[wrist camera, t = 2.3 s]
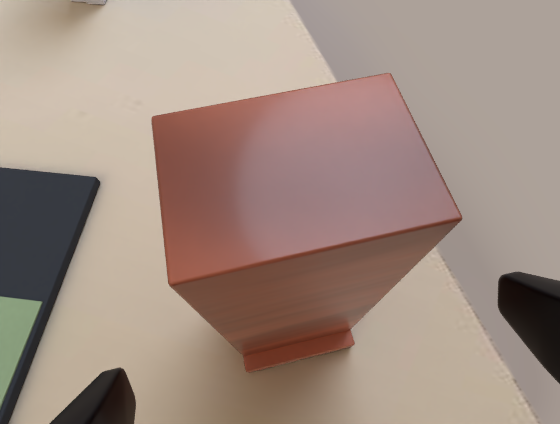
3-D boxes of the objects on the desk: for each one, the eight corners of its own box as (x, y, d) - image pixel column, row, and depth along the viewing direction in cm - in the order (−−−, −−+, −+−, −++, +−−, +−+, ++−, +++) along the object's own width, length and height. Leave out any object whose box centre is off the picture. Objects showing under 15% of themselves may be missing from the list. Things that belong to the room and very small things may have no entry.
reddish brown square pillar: (351, 346, 18) (483, 254, 6) (247, 373, 17) (172, 328, 6) (323, 253, 20) (380, 49, 8) (230, 274, 19) (147, 91, 8)
